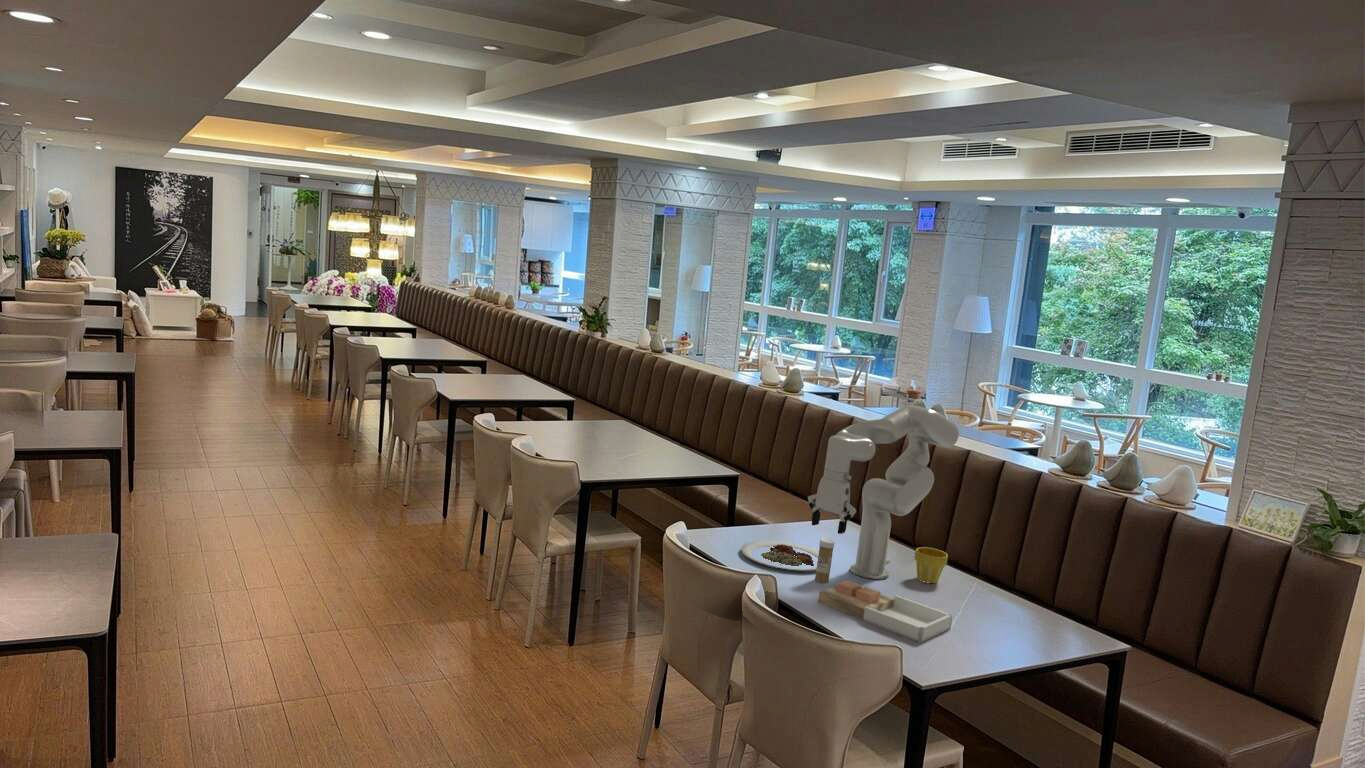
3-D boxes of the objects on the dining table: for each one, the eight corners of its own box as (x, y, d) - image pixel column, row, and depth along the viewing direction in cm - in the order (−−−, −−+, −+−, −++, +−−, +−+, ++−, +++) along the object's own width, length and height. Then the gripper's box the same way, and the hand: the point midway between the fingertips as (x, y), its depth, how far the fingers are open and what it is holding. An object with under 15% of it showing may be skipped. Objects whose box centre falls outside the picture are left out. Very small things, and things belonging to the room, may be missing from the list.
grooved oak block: (847, 591, 290) (848, 582, 290) (893, 608, 280) (894, 599, 279) (817, 601, 278) (819, 592, 278) (864, 619, 268) (866, 609, 267)
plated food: (772, 577, 296) (773, 567, 296) (724, 547, 323) (725, 538, 322) (848, 572, 311) (849, 562, 310) (796, 543, 337) (798, 534, 336)
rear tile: (845, 588, 284) (846, 580, 284) (860, 593, 281) (861, 585, 281) (836, 591, 280) (837, 583, 280) (851, 596, 277) (852, 588, 277)
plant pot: (945, 588, 305) (950, 559, 303) (913, 583, 306) (917, 554, 305) (941, 577, 315) (945, 549, 314) (909, 573, 316) (913, 545, 315)
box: (894, 608, 280) (896, 595, 280) (950, 628, 269) (952, 615, 268) (863, 620, 267) (864, 607, 267) (920, 642, 255) (922, 628, 255)
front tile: (864, 595, 280) (865, 587, 280) (879, 600, 277) (880, 592, 276) (855, 598, 276) (856, 590, 276) (870, 603, 273) (871, 595, 273)
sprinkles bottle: (811, 580, 297) (817, 539, 295) (819, 577, 301) (825, 537, 299) (824, 584, 294) (829, 543, 293) (831, 582, 298) (837, 541, 296)
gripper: (866, 481, 290) (858, 535, 292) (819, 468, 301) (811, 520, 304) (853, 483, 285) (845, 538, 287) (806, 470, 296) (798, 522, 298)
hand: (828, 528), depth 295 cm, fingers open, 9 cm apart
